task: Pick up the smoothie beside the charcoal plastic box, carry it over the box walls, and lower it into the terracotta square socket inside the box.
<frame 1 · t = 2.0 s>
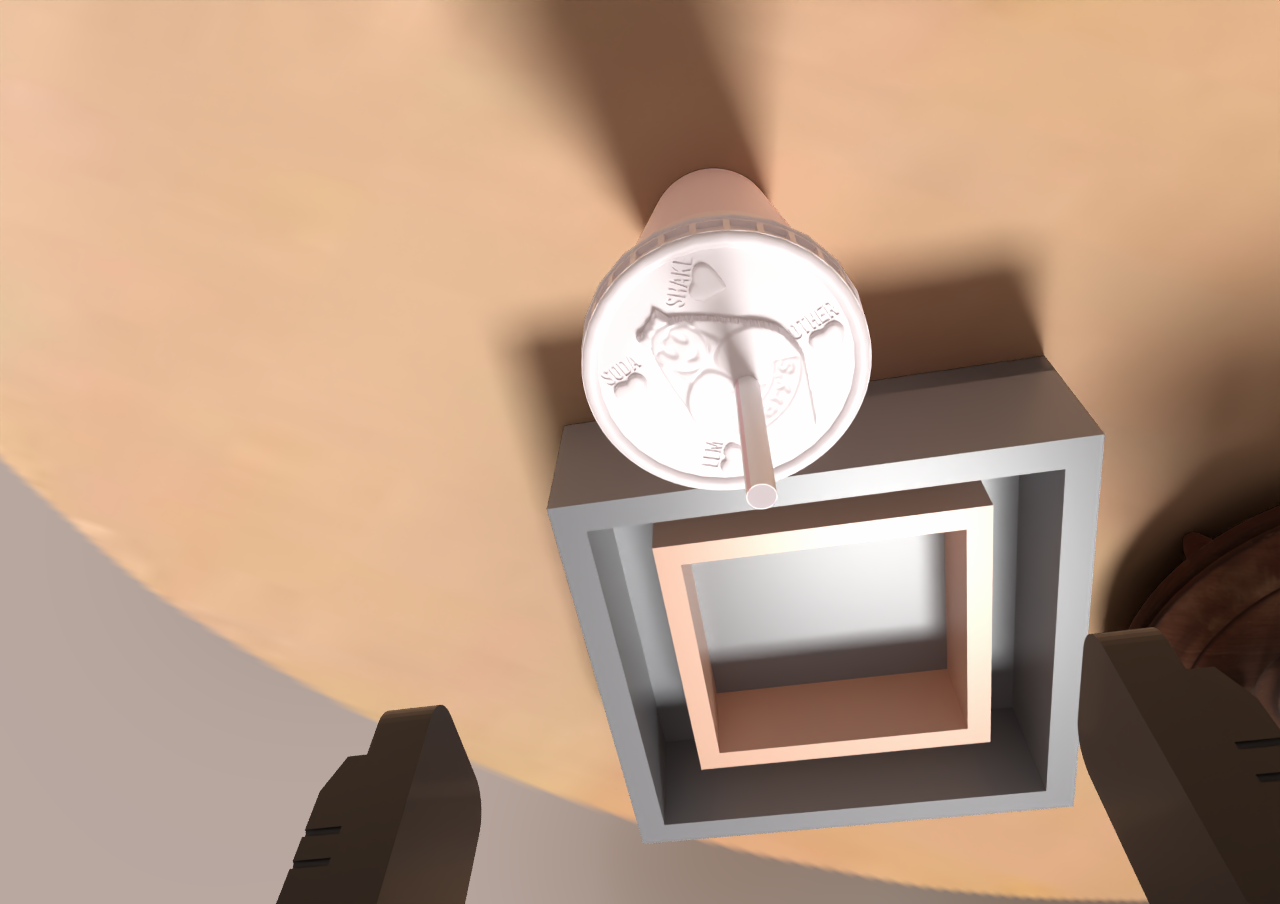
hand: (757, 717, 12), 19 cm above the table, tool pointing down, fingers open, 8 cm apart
socket box: (817, 576, 35), on the table
smoothie: (711, 227, 29), on the table
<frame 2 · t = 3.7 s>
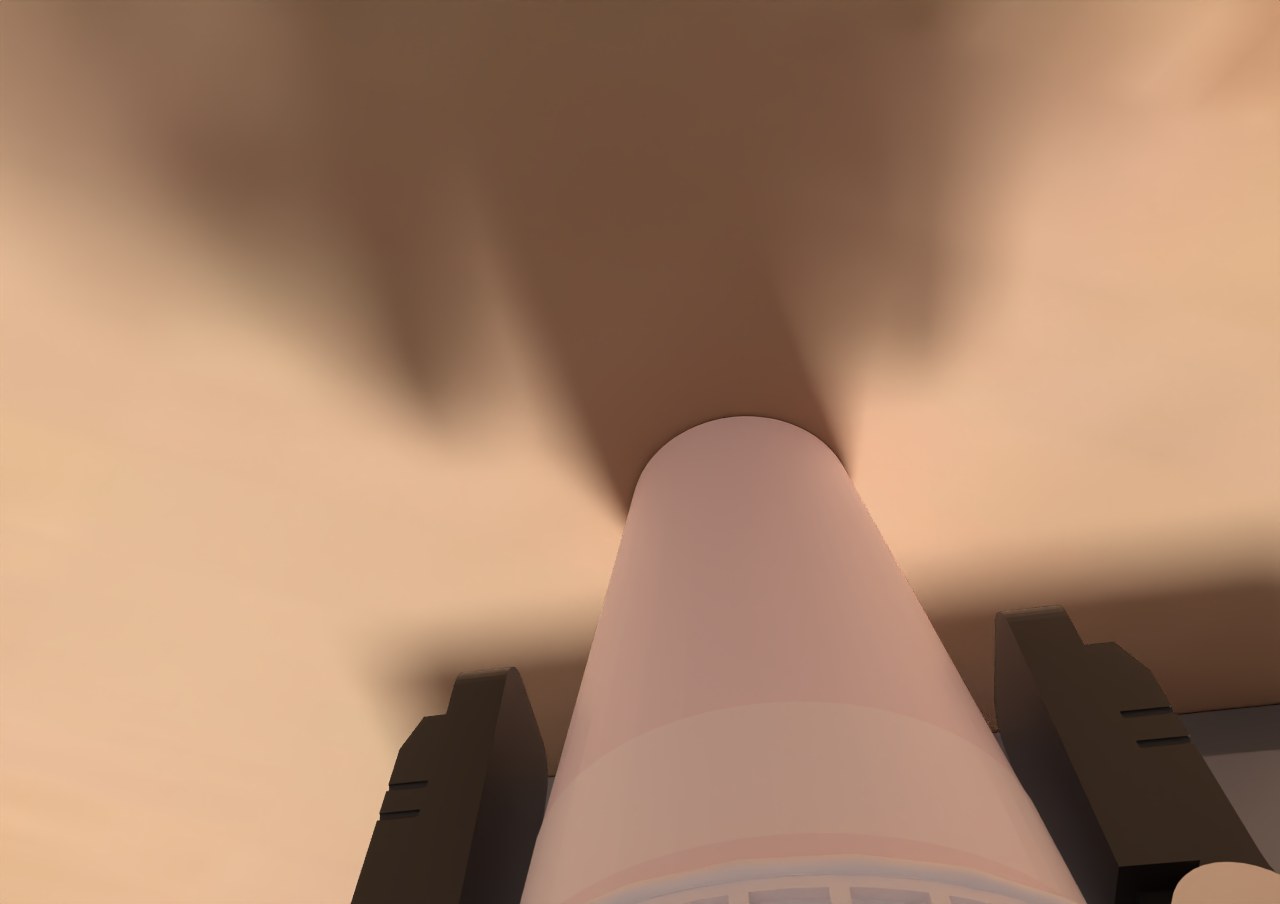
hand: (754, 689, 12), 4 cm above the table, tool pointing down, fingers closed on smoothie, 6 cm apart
smoothie: (740, 504, 16), on the table, touching gripper
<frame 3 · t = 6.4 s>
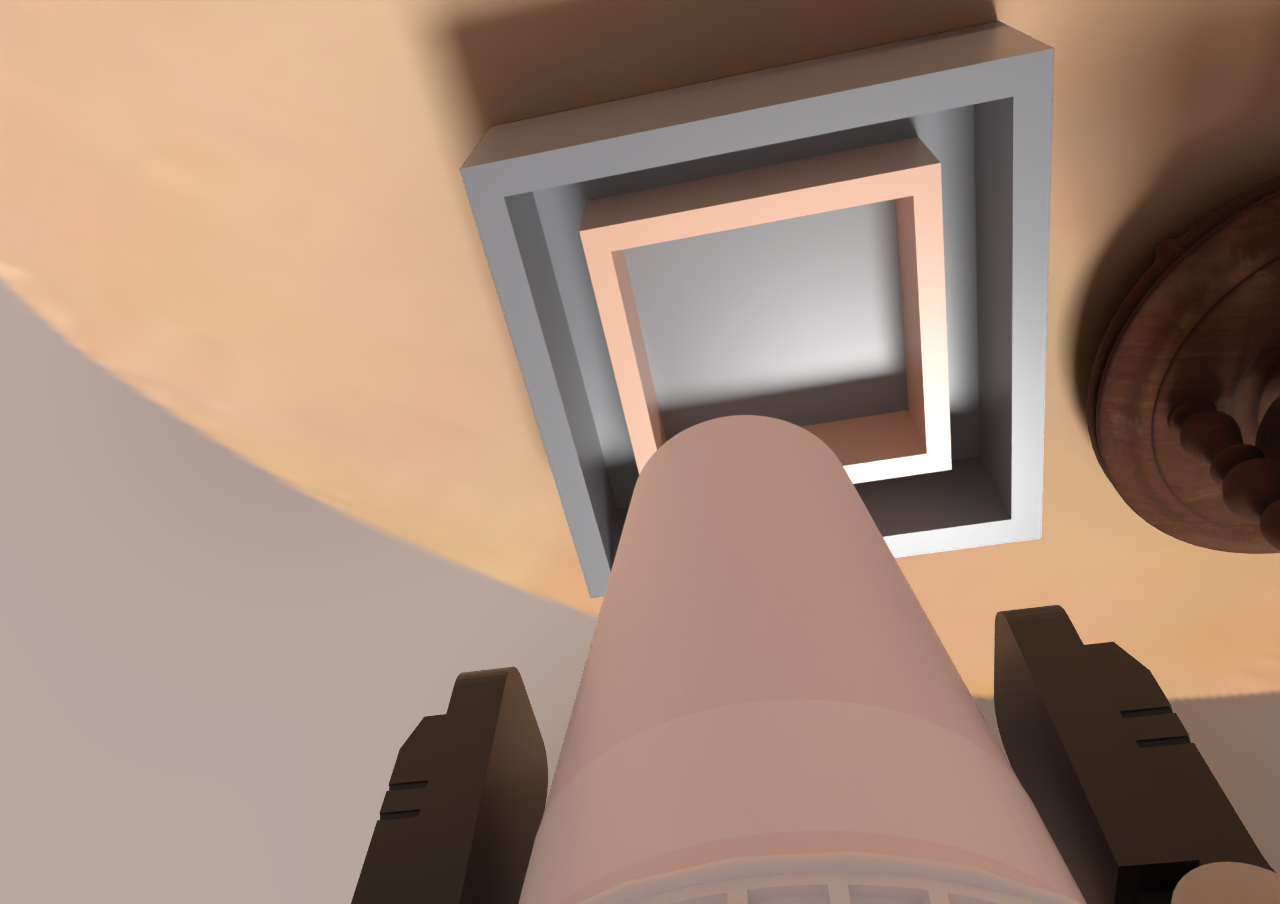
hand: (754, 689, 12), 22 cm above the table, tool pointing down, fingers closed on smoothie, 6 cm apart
socket box: (768, 308, 33), on the table
smoothie: (739, 503, 16), point 18 cm above the table, touching gripper
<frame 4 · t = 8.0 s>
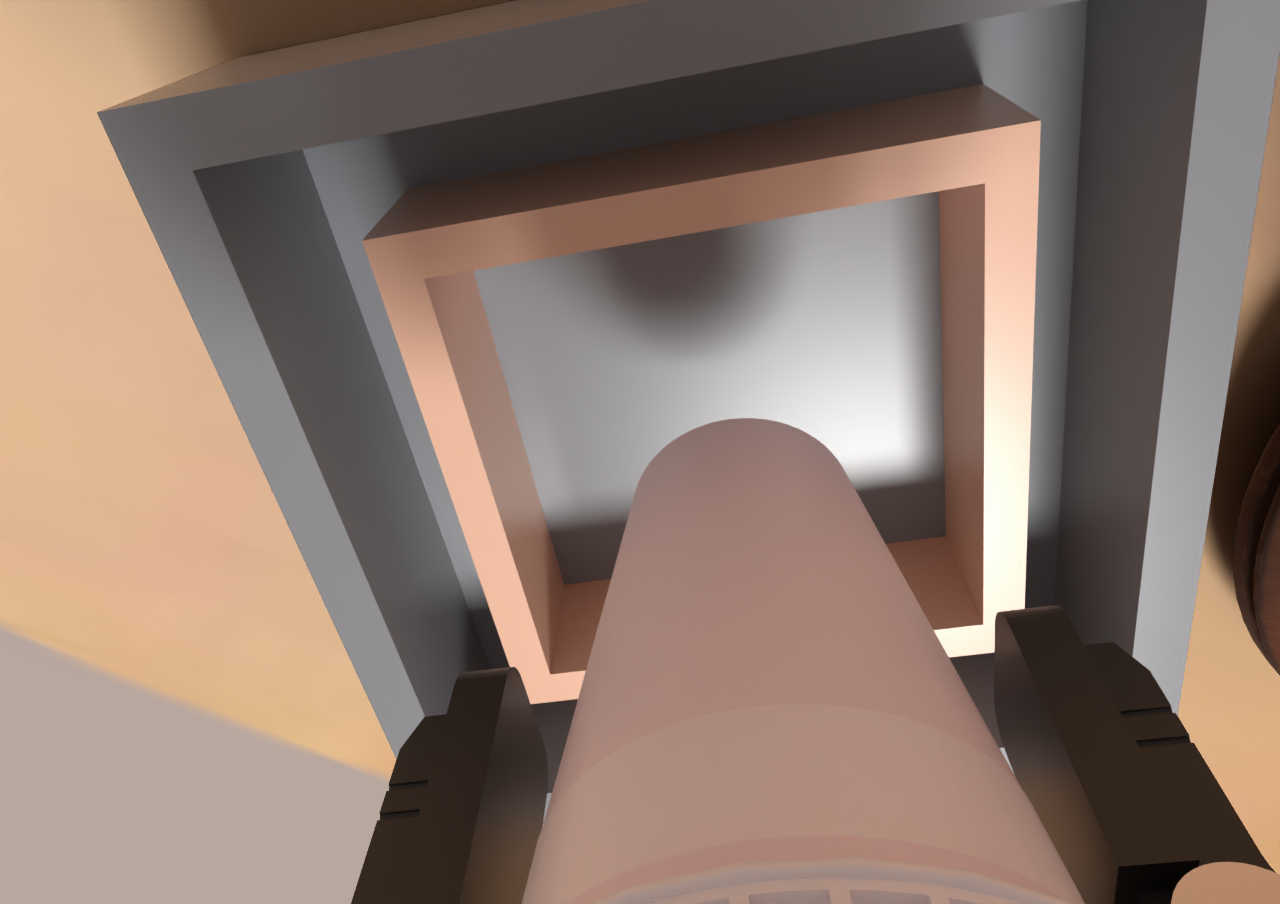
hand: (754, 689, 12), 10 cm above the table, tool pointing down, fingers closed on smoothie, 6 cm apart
socket box: (722, 372, 21), on the table
smoothie: (740, 506, 16), point 5 cm above the table, touching gripper
when the fingers open (6 cm above the table, at t = 9.2 s): smoothie drops 1 cm, resting on socket box.
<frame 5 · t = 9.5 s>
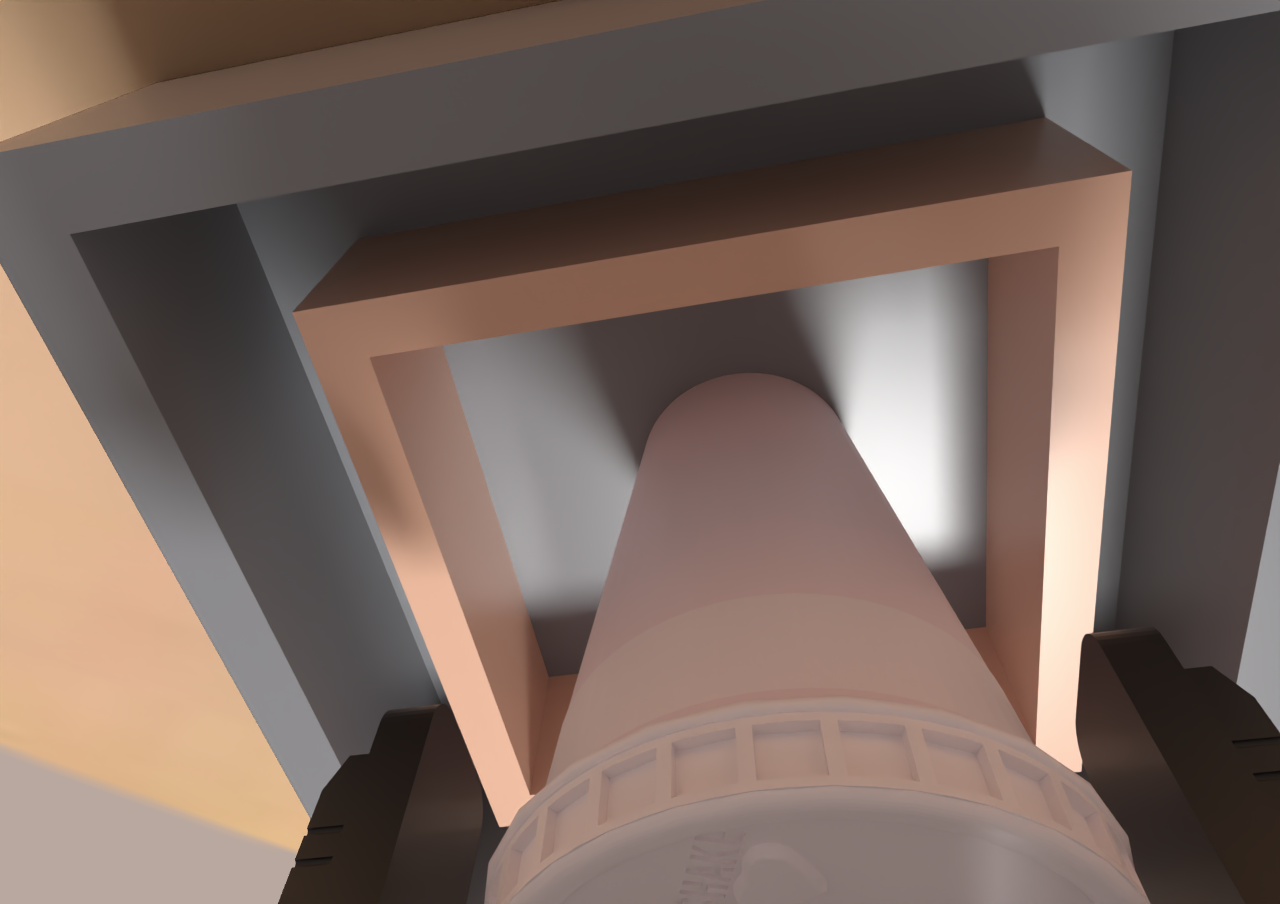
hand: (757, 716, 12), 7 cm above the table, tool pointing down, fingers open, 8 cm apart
socket box: (729, 442, 18), on the table
smoothie: (744, 458, 17), point 1 cm above the table, touching socket box
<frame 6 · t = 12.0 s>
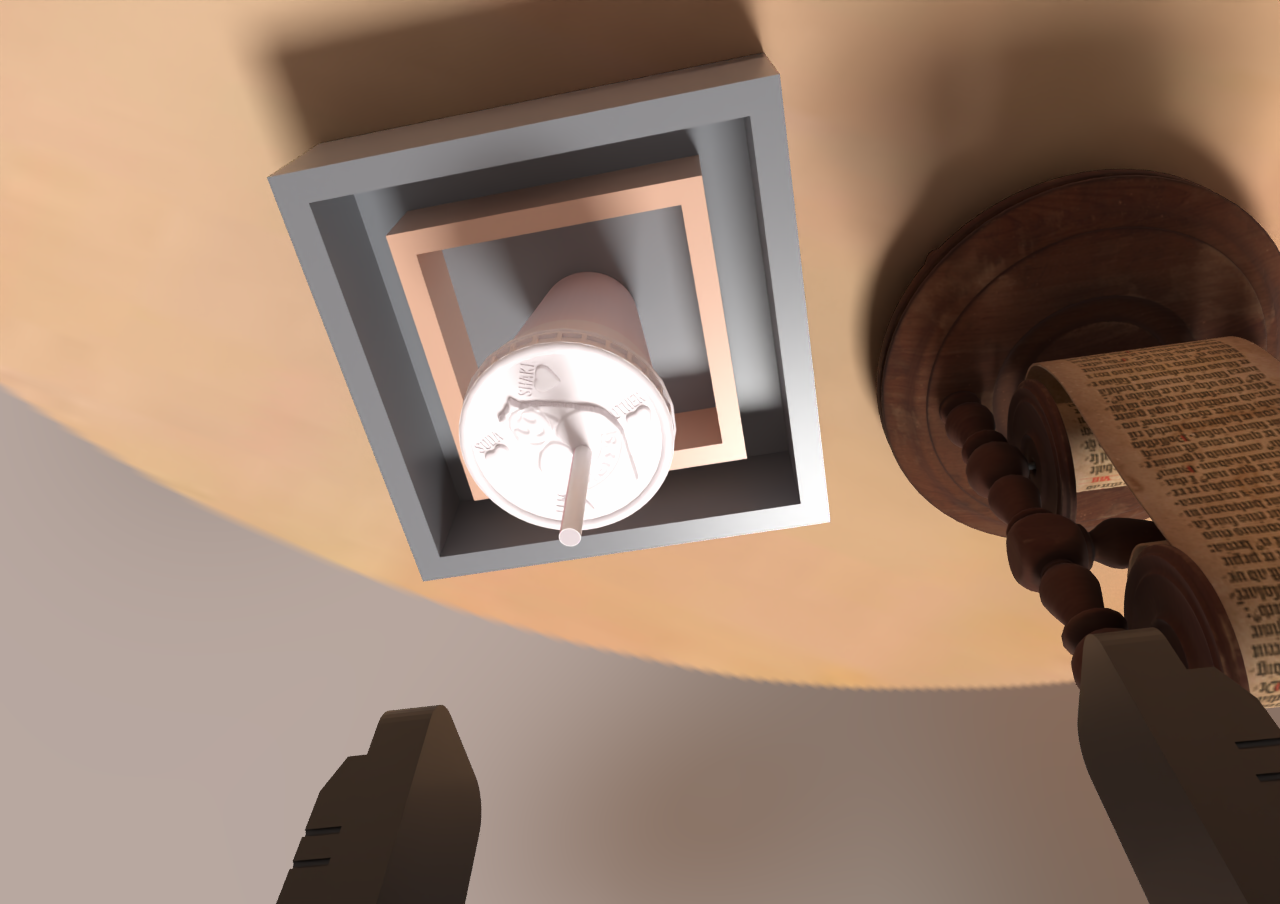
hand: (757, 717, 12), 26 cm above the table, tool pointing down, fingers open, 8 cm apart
socket box: (585, 312, 36), on the table
scroll: (1056, 348, 37), on the table
smoothie: (589, 316, 36), point 1 cm above the table, touching socket box
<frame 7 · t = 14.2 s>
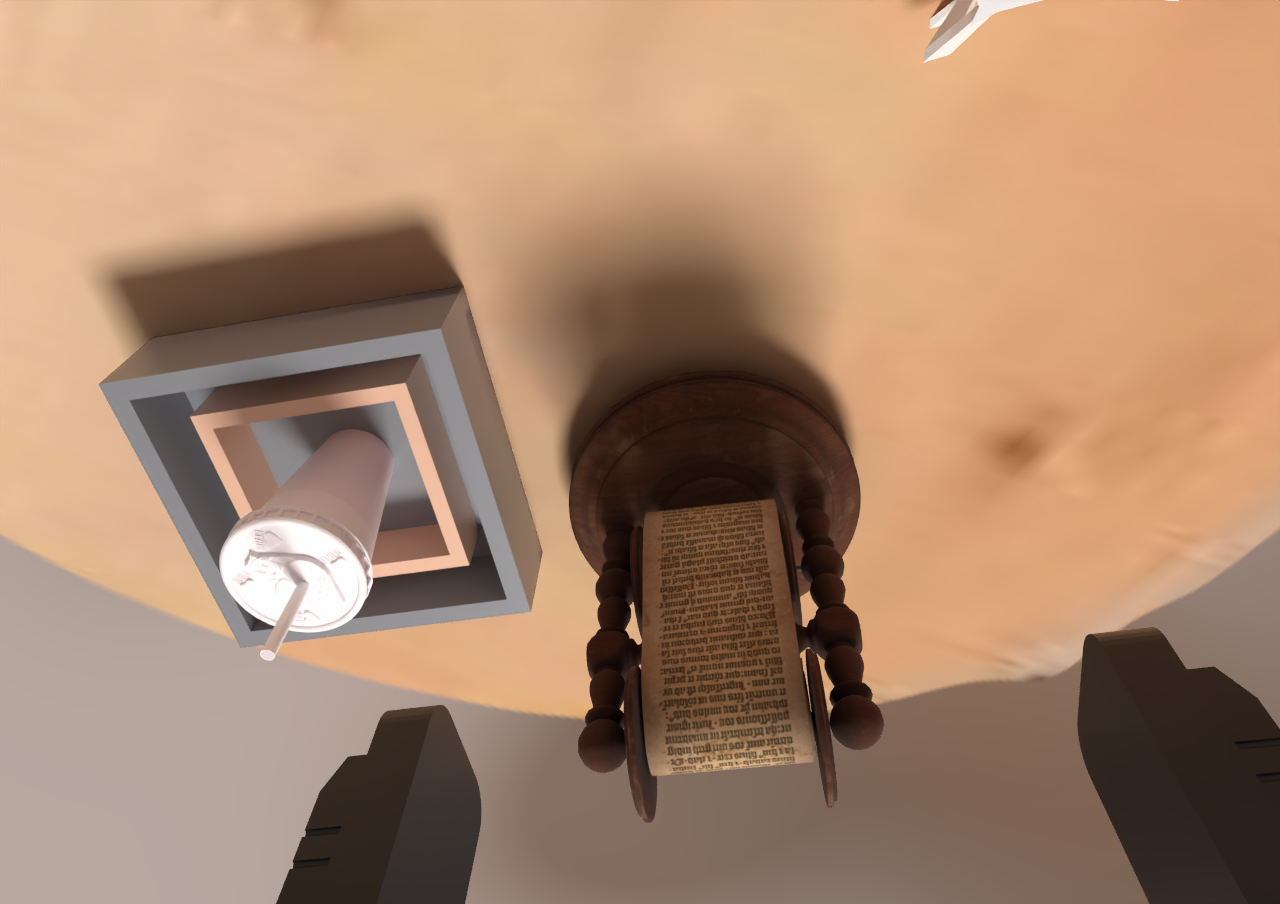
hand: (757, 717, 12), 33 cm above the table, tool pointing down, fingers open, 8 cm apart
socket box: (359, 452, 49), on the table
scroll: (711, 481, 50), on the table
smoothie: (358, 457, 48), point 1 cm above the table, touching socket box
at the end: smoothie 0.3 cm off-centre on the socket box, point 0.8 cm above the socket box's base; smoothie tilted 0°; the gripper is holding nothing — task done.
